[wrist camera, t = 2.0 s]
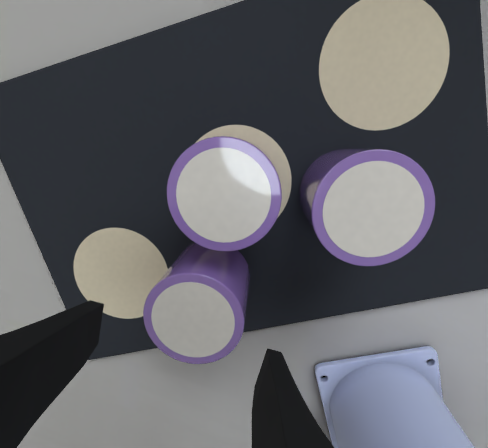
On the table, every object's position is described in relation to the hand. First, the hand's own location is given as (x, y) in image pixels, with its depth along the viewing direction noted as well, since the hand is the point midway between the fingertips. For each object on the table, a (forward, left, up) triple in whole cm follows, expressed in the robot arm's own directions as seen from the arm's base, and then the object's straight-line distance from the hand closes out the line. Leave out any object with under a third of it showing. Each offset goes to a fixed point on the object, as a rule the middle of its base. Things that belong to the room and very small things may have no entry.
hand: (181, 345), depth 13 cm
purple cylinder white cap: (+3, -9, -7) cm, 12 cm away
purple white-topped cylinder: (+5, -3, -7) cm, 9 cm away
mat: (+5, -3, -8) cm, 9 cm away
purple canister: (0, 0, -7) cm, 7 cm away
